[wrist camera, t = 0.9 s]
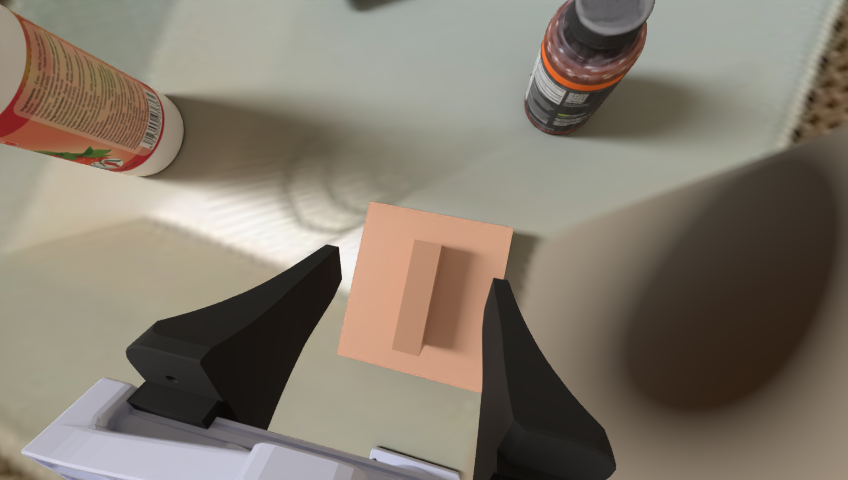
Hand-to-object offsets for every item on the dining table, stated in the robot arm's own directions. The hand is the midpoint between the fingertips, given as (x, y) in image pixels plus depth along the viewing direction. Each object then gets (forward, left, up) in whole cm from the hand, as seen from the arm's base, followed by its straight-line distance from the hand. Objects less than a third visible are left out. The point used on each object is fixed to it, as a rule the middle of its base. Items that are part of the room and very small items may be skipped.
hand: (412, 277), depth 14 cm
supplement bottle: (+17, -7, -14) cm, 23 cm away
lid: (-2, +1, -11) cm, 12 cm away
